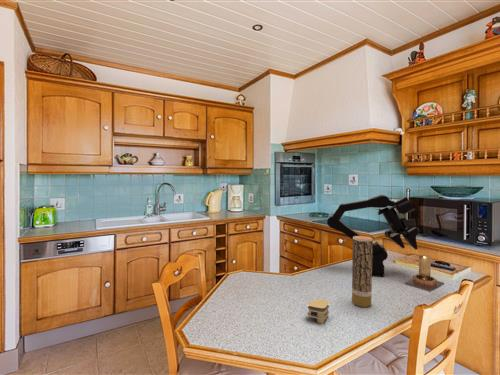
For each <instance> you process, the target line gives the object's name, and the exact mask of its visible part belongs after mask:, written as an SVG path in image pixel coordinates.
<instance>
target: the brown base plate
mask: <svg viewBox="0 0 500 375" xmlns="http://www.w3.org/2000/svg"><path fill="white" fill-rule="evenodd" d="M404 284H405V285H407V286H411V287H414V288H417V289H420V290H424V291H427V292H432V291H434V290H436V289H438V288H439V287H441V286H443V285H444V284H445V282H443V281H440V280H438V279H437V278H435V277H433V276H432V275H430V281H427V280H422V279H419V273H416V274H414V275H413V276H412V279H410V280H408V281H405V282H404Z"/></svg>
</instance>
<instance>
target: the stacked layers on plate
mask: <svg viewBox="0 0 500 375" xmlns="http://www.w3.org/2000/svg"><path fill="white" fill-rule="evenodd" d="M329 303H330V301H328V300H324V299H321V298H317V299H314V300H311V301H308V302H307V305H308V306H307V309H308V312H307V313H306V314H307V315H308V316H309V317H310V318H313V319H314V318H315V319H316V321H317V322H316V323H319V324H324V323H325V320H326V319H327V318H328V317H329V314H330V311H329V308H330V305H329Z"/></svg>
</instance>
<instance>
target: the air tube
mask: <svg viewBox="0 0 500 375" xmlns="http://www.w3.org/2000/svg"><path fill="white" fill-rule="evenodd" d="M431 260H432V256H431V255H428V254H418V274H419V279H422V280H427V281H430V276H432V275H431V273H432V272H431V270H432V269H431V265H432V264H431Z"/></svg>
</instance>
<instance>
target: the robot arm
mask: <svg viewBox="0 0 500 375" xmlns="http://www.w3.org/2000/svg"><path fill="white" fill-rule="evenodd" d="M367 208H378V211H377V215H378V216H380V215H383V217H384V219H385V221H386V222H387V223H386V226H389V229H386V230H385V231H384V236H385V238H388V240H391V241H392V242H393V243H394V244H396V245H398V246H399V247H400V248H401V249H402V250H403V249H405V248H406V247H405V244H404V242H403V240H402V237H403V238H404V241H405V242H407V244H409V245H410V246H411V247H412V248H413V249H414V250H418V249H419V248H418V244H417V235H419V234H420V230H419V228H418V227H416V225H417V224H416V219H415V218H412V219H411V218H410V219H406V218H405V217H403V218H402V217H400V216H399V215H400V214H401V215H403V216H404V215H405V214H408V213H410V212H412V211H413V212H414V211H415V210H416V209H415V206H414V204H413V203H412V202H411V201H410V199H409V198H408V197H406V196H405V197H403V198H401V199H399V200H397V201H394V200H391V199H390V198H389V197H388V196H386V195H384V194H379V195H376V196H373V197H371V198H368V199H364V200H359V201H353V202H347V203H340V204H339V205H338V207H337V209H336V210H335V211H334V213H333V214H331V215H330V216H328V218H327V220H326V221H327V222H326V223H327V226H328V227H329V228H331V229H333V230H335V231H338V232H341V233H343V235H346V236H347V237H348V238H350V239H351V240H353V237H354V236H362V235H361V234H360V233H358V232H357V231H356V230H354V229H352V228H350V227H349V226H348V225H347V224H345V223H344V221H343V220H341V218H342V217H343V216H344V214H345V213H346V212H350V211H356V210H361V209H367ZM381 208H382V209H381ZM398 214H399V215H398ZM401 236H402V237H401ZM387 258H388V252H387V250H386V248H385V246H384V245H382V244H381V243H380V242H378V241H377V240H376V241H375V242H374V241H372V277H373V276H374V277H382V278H383V277H385V265H384V262H385V261H386V260H387Z"/></svg>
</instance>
